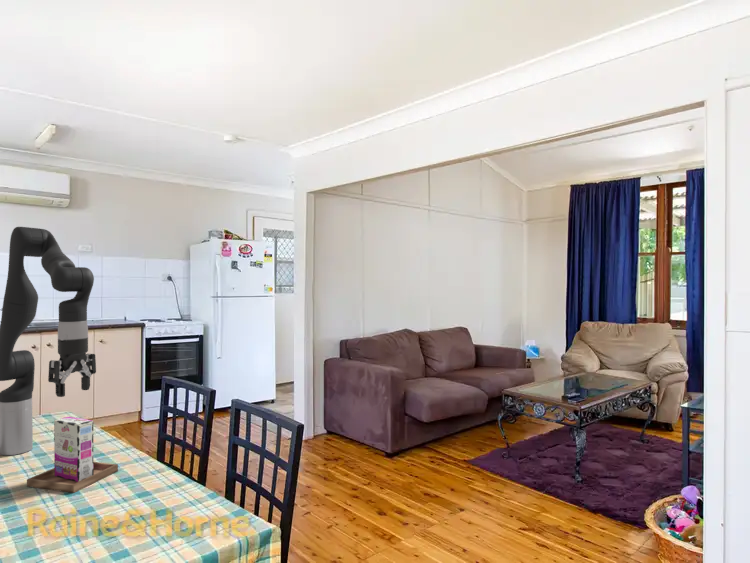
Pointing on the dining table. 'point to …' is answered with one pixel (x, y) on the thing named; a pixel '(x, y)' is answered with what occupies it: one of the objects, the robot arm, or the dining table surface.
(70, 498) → the dining table surface
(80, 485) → the walnut tray
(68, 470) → the candy bar box
